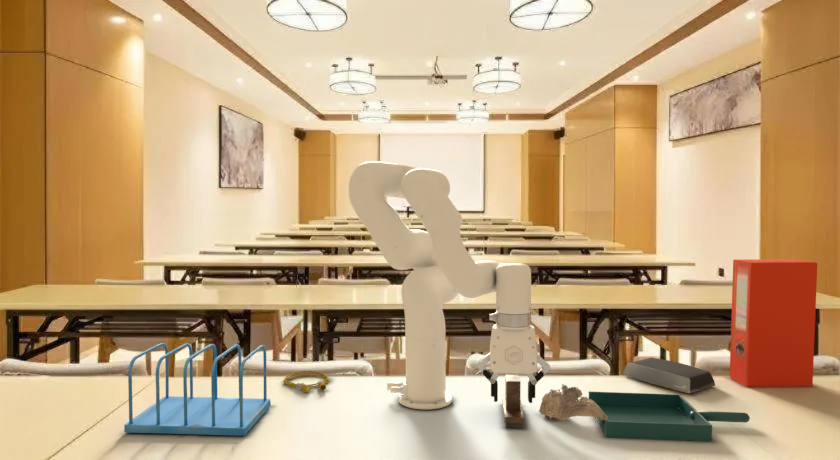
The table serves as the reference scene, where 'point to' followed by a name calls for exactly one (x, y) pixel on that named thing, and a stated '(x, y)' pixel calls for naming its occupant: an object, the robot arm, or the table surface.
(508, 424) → the brown stepped block
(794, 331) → the file binder
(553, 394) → the rock
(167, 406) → the file sorter
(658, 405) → the dustpan
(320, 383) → the gold rope bracelet
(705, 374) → the hard drive
